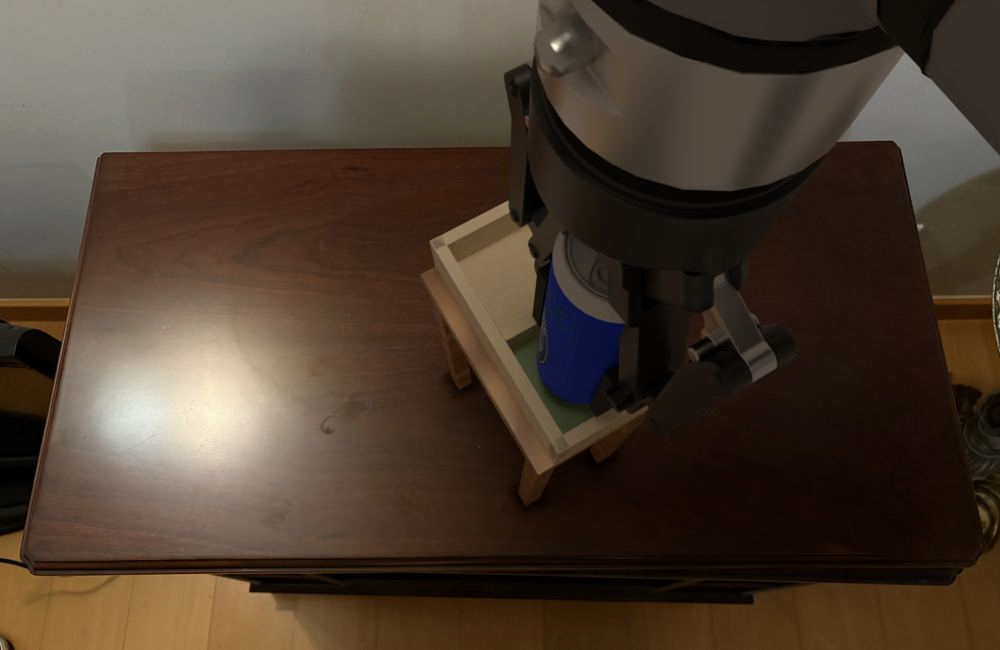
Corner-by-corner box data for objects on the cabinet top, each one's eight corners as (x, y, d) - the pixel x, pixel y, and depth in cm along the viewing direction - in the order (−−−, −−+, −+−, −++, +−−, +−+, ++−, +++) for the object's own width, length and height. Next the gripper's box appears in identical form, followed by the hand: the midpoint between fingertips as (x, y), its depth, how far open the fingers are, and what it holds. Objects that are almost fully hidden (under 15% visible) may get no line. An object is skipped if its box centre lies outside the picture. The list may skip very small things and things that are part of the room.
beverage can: (563, 304, 41) (595, 165, 27) (642, 347, 41) (717, 227, 26) (519, 377, 40) (528, 271, 26) (599, 424, 39) (655, 340, 25)
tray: (661, 400, 43) (676, 384, 40) (553, 464, 42) (558, 454, 38) (537, 214, 48) (539, 183, 44) (435, 267, 46) (429, 240, 43)
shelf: (614, 456, 68) (677, 392, 44) (525, 510, 67) (538, 475, 42) (533, 329, 72) (550, 205, 48) (448, 376, 71) (419, 274, 46)
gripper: (374, -119, 19) (444, 254, 41) (804, 486, 13) (618, 539, 35) (612, -218, 20) (555, 196, 42) (1092, 301, 15) (739, 464, 37)
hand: (584, 353), depth 39 cm, fingers closed on beverage can, 5 cm apart
